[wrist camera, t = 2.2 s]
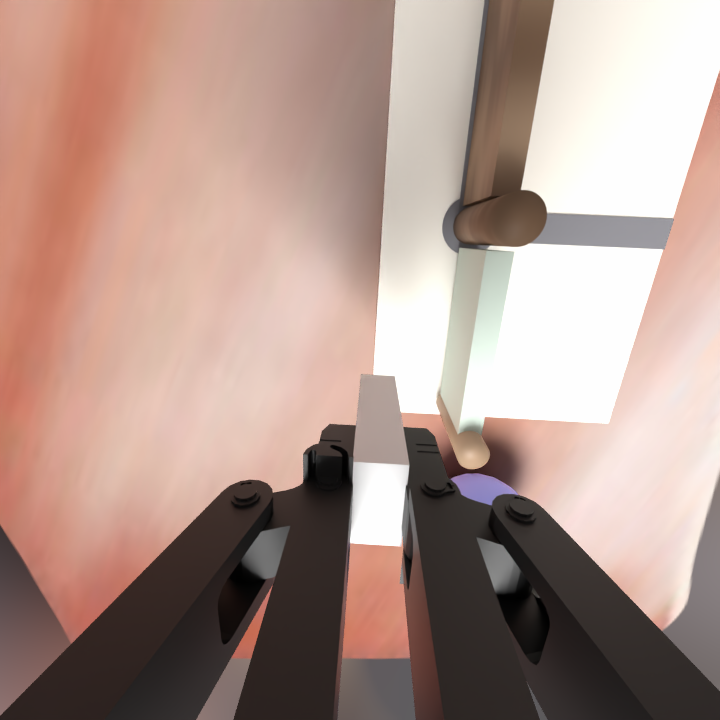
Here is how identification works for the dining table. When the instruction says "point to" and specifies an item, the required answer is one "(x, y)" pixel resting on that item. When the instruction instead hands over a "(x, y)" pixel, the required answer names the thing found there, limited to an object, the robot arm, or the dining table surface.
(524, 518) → the robot arm
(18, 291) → the dining table surface
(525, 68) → the fixed fence section
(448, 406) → the folding fence panel
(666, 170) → the card
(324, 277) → the dining table surface
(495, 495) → the sphere
